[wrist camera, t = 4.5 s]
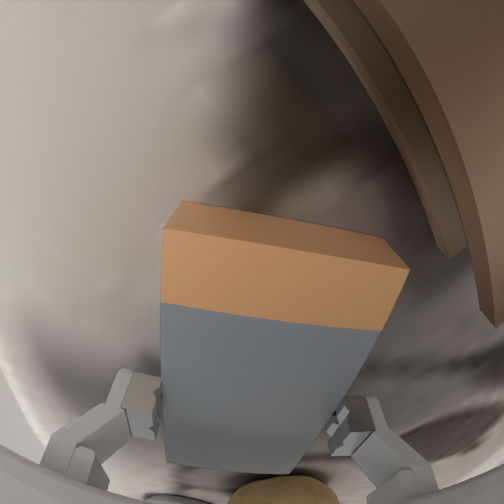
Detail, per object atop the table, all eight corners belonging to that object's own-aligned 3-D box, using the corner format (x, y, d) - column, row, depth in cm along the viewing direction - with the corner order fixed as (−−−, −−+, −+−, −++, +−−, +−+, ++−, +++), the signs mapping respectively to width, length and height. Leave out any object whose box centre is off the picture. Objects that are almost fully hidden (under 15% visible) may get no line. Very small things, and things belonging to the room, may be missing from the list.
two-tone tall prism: (286, 443, 14) (288, 474, 12) (172, 430, 14) (166, 462, 12) (382, 237, 9) (410, 269, 7) (182, 201, 8) (163, 228, 7)
